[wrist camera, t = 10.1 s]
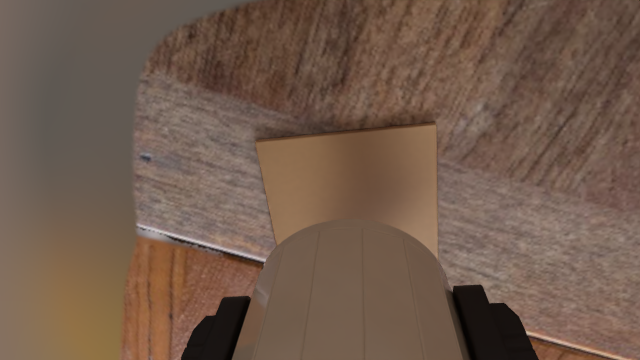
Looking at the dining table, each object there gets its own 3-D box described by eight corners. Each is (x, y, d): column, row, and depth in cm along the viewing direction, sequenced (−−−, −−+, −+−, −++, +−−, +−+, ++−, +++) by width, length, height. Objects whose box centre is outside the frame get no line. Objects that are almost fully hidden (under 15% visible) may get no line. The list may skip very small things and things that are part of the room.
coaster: (285, 278, 20) (284, 282, 20) (256, 139, 17) (254, 142, 17) (437, 270, 19) (438, 274, 19) (435, 121, 16) (436, 124, 16)
